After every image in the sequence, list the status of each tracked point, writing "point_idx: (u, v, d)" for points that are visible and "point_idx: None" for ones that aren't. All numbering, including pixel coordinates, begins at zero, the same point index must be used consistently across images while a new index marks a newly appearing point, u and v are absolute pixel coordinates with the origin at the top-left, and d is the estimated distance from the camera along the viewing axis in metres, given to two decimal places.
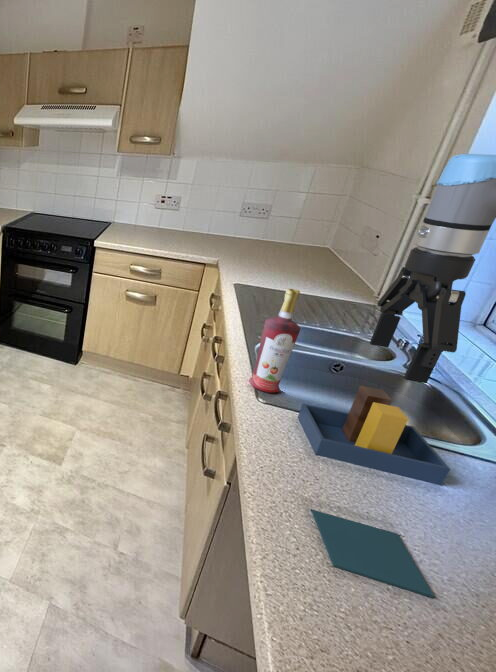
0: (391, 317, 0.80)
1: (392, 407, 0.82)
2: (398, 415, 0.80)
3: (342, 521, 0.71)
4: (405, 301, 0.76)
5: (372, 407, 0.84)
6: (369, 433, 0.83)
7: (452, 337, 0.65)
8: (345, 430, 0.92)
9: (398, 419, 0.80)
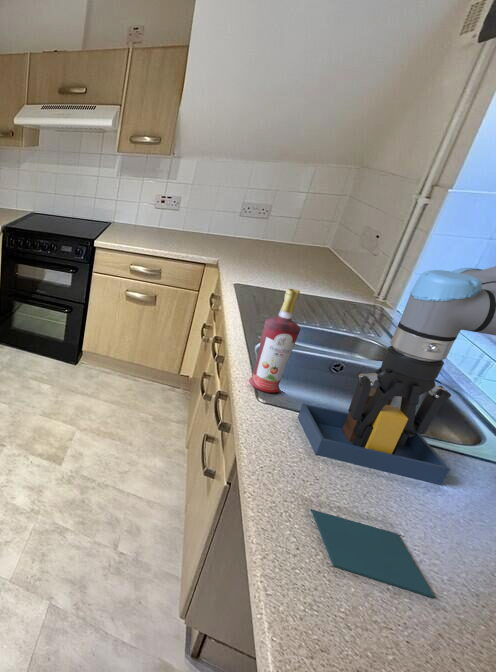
0: None
1: (392, 407, 0.82)
2: (398, 415, 0.80)
3: (342, 521, 0.71)
4: None
5: None
6: None
7: None
8: (345, 430, 0.92)
9: (398, 419, 0.80)
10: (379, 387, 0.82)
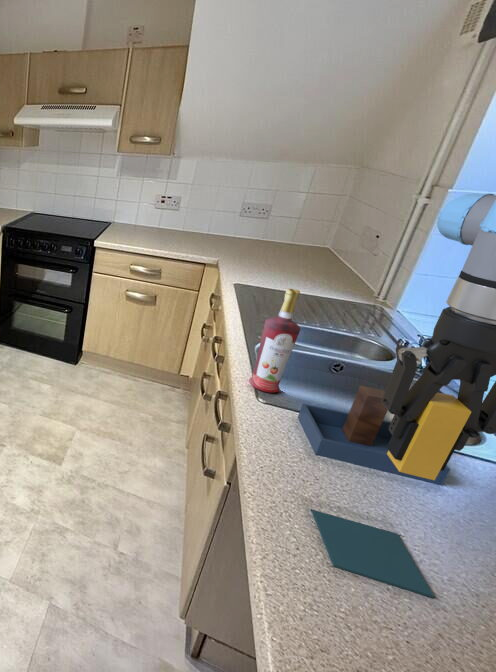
0: None
1: (445, 395, 0.58)
2: (456, 406, 0.56)
3: (342, 521, 0.71)
4: None
5: None
6: None
7: None
8: (345, 430, 0.92)
9: (456, 412, 0.56)
10: (428, 367, 0.58)
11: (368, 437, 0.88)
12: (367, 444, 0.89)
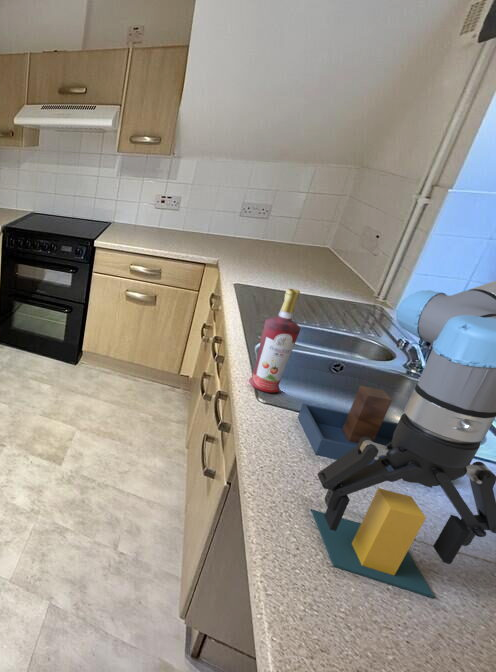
0: None
1: (403, 496, 0.62)
2: (412, 511, 0.59)
3: (342, 521, 0.71)
4: None
5: (377, 495, 0.63)
6: (373, 530, 0.63)
7: None
8: (345, 430, 0.92)
9: (412, 517, 0.59)
10: (381, 460, 0.61)
11: None
12: None
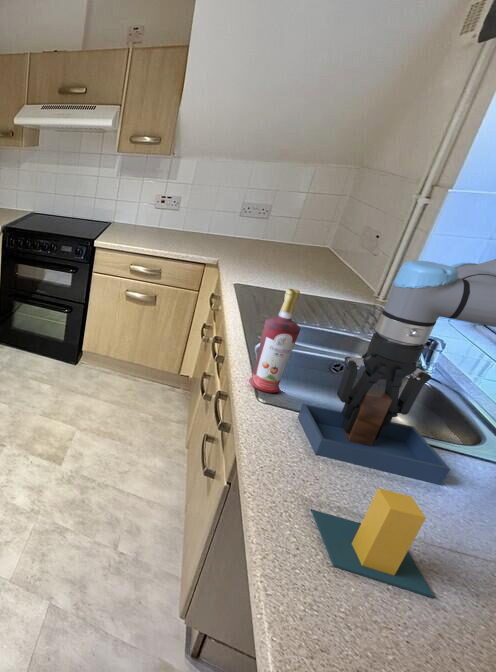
0: None
1: (403, 496, 0.62)
2: (412, 511, 0.59)
3: (342, 521, 0.71)
4: None
5: (377, 495, 0.63)
6: (373, 530, 0.63)
7: None
8: None
9: (412, 517, 0.59)
10: (365, 371, 0.87)
11: (368, 437, 0.88)
12: (367, 444, 0.89)
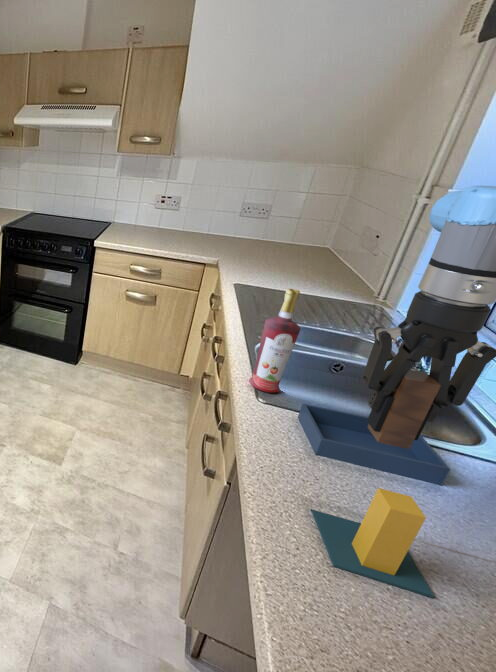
0: None
1: (403, 496, 0.62)
2: (412, 511, 0.59)
3: (342, 521, 0.71)
4: None
5: (377, 495, 0.63)
6: (373, 530, 0.63)
7: None
8: None
9: (412, 517, 0.59)
10: (402, 346, 0.64)
11: (405, 436, 0.65)
12: (403, 446, 0.65)
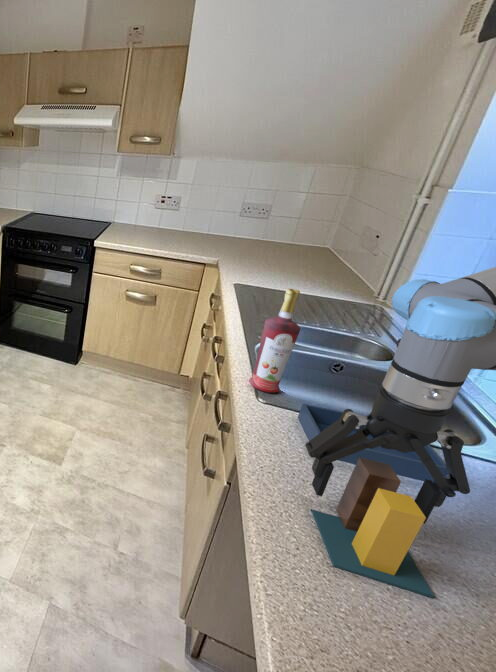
0: None
1: (403, 496, 0.62)
2: (412, 511, 0.59)
3: None
4: None
5: (377, 495, 0.63)
6: (373, 530, 0.63)
7: None
8: (340, 511, 0.72)
9: (412, 517, 0.59)
10: (363, 430, 0.67)
11: None
12: None
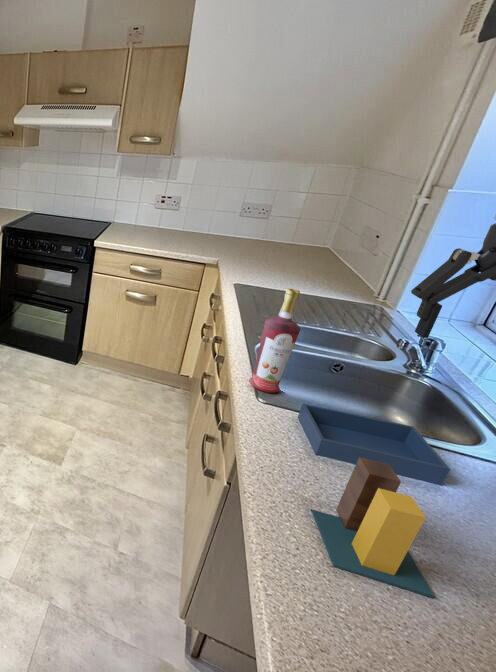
0: None
1: (403, 496, 0.62)
2: (412, 511, 0.59)
3: None
4: None
5: (377, 495, 0.63)
6: (373, 530, 0.63)
7: None
8: (340, 511, 0.72)
9: (412, 517, 0.59)
10: (471, 268, 0.72)
11: None
12: None
